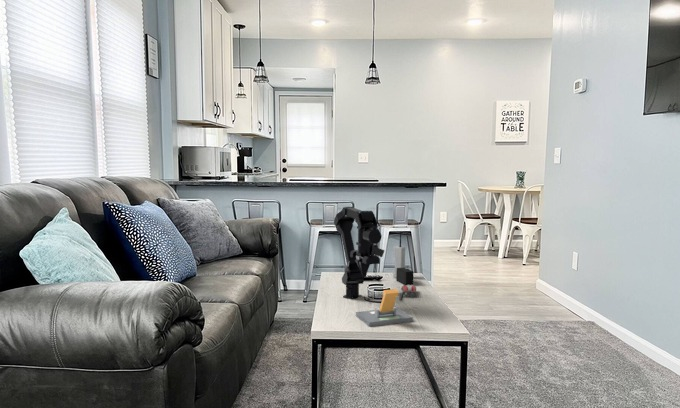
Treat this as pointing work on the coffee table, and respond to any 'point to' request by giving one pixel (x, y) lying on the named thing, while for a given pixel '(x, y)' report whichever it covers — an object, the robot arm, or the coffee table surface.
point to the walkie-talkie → (407, 291)
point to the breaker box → (383, 317)
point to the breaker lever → (388, 301)
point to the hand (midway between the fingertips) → (364, 276)
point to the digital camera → (404, 276)
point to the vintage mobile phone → (399, 257)
